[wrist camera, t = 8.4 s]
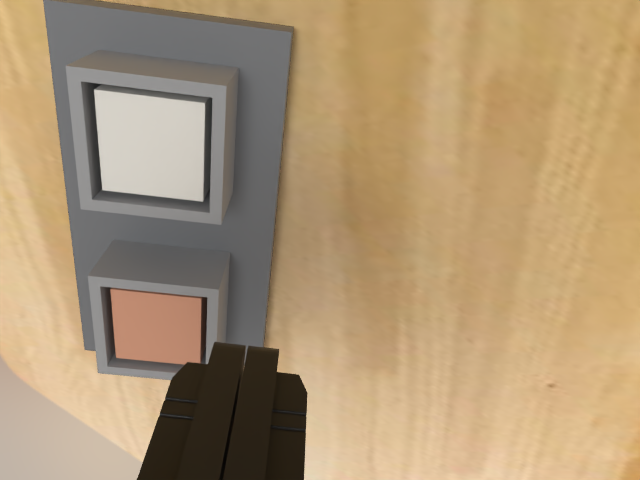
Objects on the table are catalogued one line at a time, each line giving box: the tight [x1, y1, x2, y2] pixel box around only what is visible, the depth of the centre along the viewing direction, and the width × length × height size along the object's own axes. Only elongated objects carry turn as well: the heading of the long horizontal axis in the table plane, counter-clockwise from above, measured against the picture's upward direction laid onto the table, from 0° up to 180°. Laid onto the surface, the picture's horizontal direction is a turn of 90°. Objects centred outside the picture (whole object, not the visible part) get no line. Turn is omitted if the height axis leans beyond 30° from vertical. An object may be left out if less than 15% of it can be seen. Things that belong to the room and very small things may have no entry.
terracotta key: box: [110, 287, 207, 365], centre depth 32 cm, size 5×5×2 cm
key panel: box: [43, 0, 294, 380], centre depth 30 cm, size 22×12×6 cm, turn 173°
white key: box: [94, 84, 212, 202], centre depth 26 cm, size 5×5×2 cm
